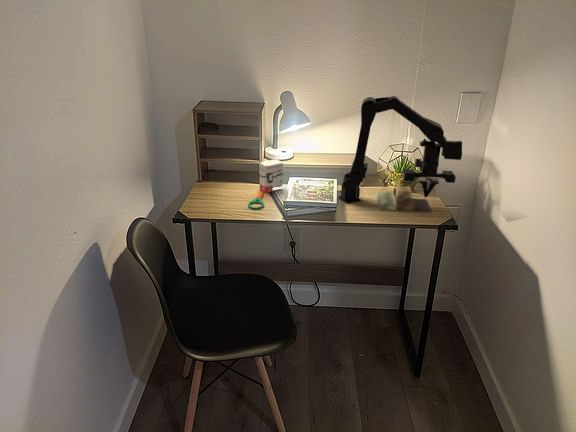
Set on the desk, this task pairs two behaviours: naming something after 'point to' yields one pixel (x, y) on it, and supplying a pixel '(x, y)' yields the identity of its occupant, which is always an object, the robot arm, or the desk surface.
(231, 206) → the desk surface
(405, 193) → the maple block
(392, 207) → the tunnel course
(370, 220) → the desk surface
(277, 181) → the ink box
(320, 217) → the desk surface
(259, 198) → the magnifying glass
